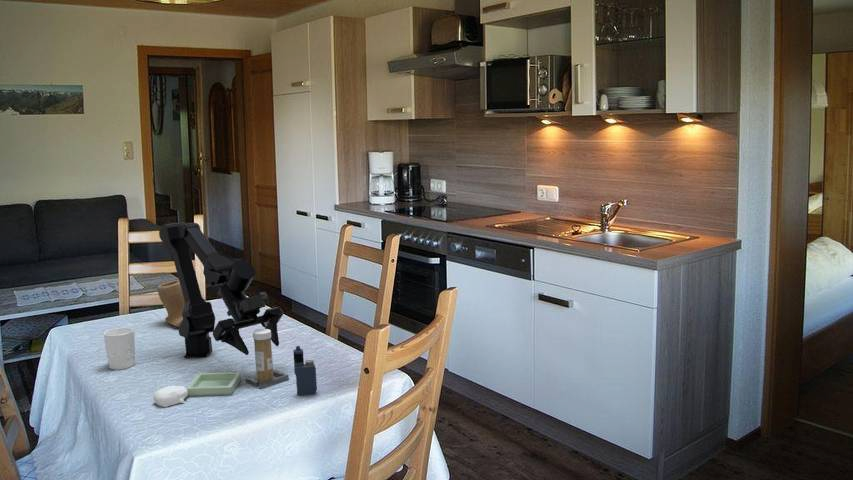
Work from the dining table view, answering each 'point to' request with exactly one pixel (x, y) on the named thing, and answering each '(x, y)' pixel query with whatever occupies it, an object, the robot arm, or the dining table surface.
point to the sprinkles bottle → (263, 354)
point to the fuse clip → (279, 375)
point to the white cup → (120, 347)
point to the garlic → (170, 395)
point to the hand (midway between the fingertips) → (263, 349)
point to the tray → (214, 384)
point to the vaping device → (304, 373)
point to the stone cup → (172, 301)
